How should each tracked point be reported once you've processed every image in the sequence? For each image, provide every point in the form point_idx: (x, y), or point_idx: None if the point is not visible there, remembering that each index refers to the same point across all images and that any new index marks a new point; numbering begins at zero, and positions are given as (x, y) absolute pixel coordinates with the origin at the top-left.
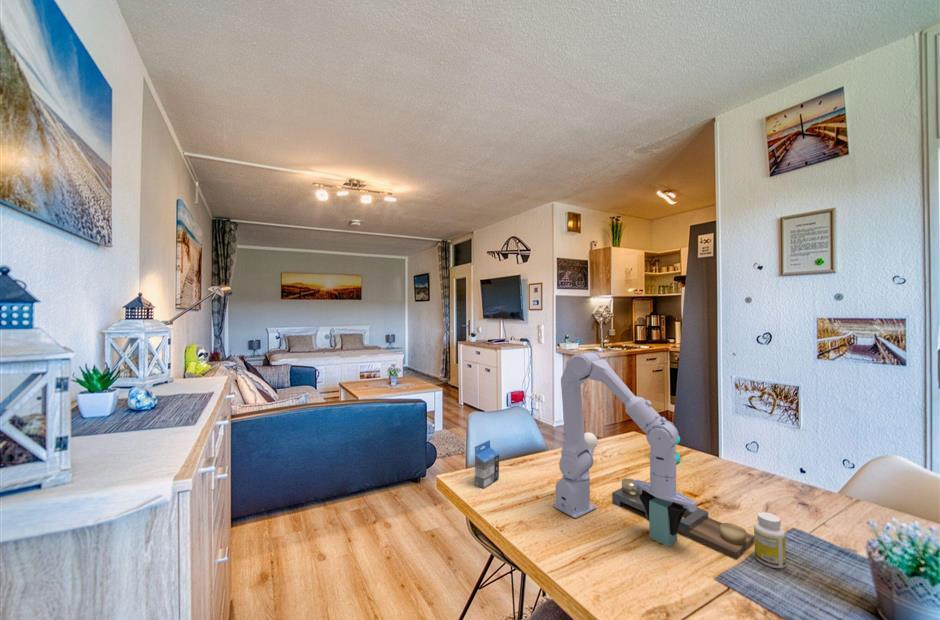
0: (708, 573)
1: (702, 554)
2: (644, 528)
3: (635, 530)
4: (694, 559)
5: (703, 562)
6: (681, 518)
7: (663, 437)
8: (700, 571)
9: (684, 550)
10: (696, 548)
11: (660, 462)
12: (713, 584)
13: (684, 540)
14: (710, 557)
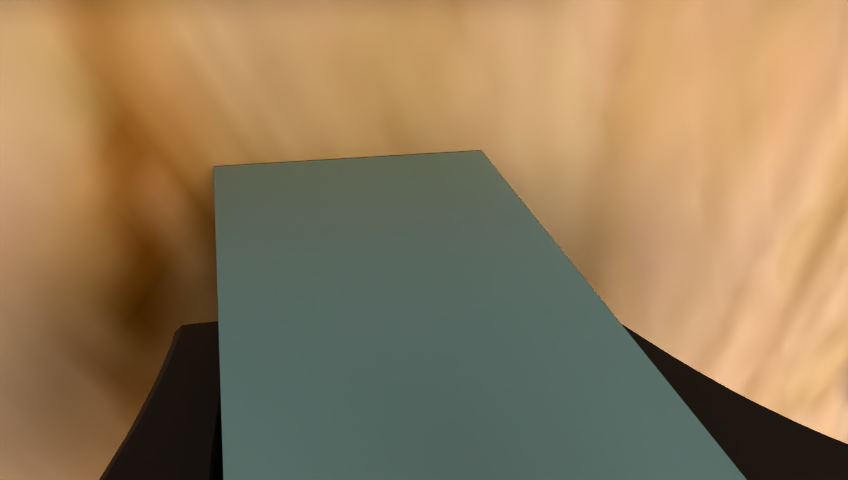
0: (816, 375)
1: (759, 175)
2: (43, 272)
3: (23, 406)
4: (707, 313)
5: (776, 285)
6: (753, 410)
7: None
8: (765, 404)
9: (604, 267)
10: (695, 120)
11: None
12: (845, 442)
13: (547, 74)
14: (828, 155)
